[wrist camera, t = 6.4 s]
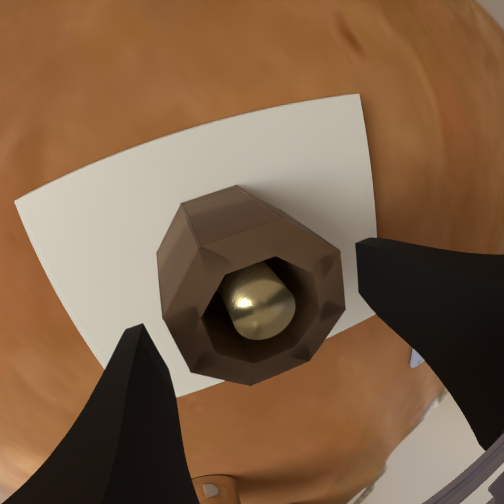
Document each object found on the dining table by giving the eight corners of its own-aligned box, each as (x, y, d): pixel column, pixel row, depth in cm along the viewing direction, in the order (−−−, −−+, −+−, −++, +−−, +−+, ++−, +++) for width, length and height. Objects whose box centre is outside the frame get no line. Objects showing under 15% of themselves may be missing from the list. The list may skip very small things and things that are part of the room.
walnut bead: (271, 173, 13) (334, 199, 9) (295, 283, 16) (348, 342, 11) (142, 216, 12) (138, 268, 8) (187, 324, 15) (206, 402, 10)
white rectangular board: (342, 95, 14) (359, 93, 13) (365, 301, 20) (378, 312, 19) (26, 193, 11) (14, 201, 10) (134, 391, 17) (135, 409, 16)
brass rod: (233, 214, 15) (289, 274, 9) (243, 251, 16) (299, 325, 10) (193, 228, 14) (224, 299, 9) (205, 265, 15) (242, 348, 10)
